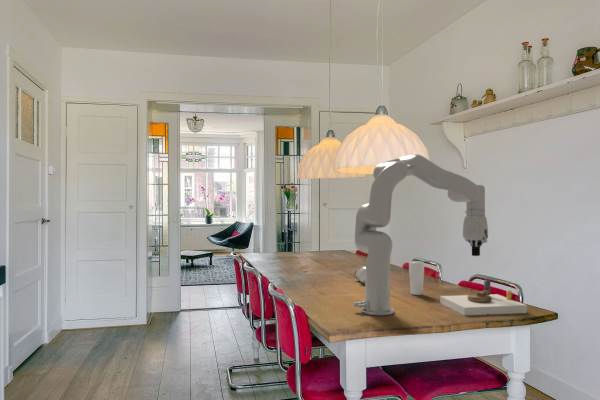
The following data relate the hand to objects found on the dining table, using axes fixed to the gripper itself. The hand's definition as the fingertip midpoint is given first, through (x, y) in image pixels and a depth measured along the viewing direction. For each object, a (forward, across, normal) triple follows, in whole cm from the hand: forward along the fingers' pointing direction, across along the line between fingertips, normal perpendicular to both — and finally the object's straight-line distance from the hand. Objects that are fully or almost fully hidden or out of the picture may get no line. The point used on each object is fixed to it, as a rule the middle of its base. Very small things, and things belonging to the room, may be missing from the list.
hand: (475, 255), depth 194 cm
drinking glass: (+20, -22, -14) cm, 33 cm away
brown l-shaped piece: (+16, +8, -6) cm, 19 cm away
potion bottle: (+20, -56, -18) cm, 62 cm away
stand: (+20, +10, -8) cm, 23 cm away
